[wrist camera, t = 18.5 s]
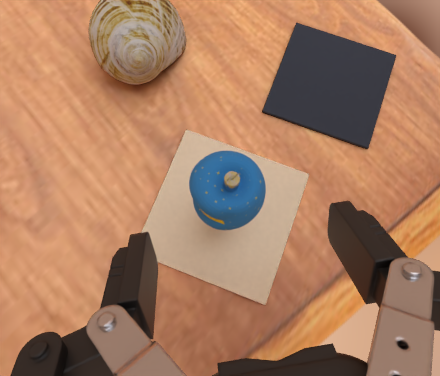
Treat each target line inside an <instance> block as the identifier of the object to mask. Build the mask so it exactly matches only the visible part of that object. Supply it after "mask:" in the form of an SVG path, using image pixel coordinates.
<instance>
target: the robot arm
mask: <svg viewBox="0 0 440 376" xmlns="http://www.w3.org/2000/svg"><path fill="white" fill-rule="evenodd" d="M328 238H329V241H330V243H331V245H332V247H333V249H334V250H335V252H336V254H337V256H338V257H339V259H340V261H341V262H342V264H343V266H344V267H345V269H346V271H347V273H348V274H349V276H350V278H351V279H352V281H353V283H354V285H355V286H356V288H357V290H358V291H359V293H360V295H361V296H362V298H363V300H364V302H365V303H366V304H370V303H377V304H378V306H379V312H378V317H377V321H376V325H375V330H374V335H373V339H372V343H371V348H370V352H369V357H368V361H367V363H366V362H364V361H363V360H360V359H358V358H356V357H353V356H350V355H346V354H341V353H336V351H335V348H334V346H333V344H327V345H321V346H315V347H309V348H304V349H302V350H300V351H298V352H296V353H294V354H292V355H289V356H287V357H285V358H283V359H281V360H278V361H270V360H259V359H248V358H245V359H239V360H233V361H227V362H221V363H218V373H216V374H214V375H212V376H431V369H432V355H433V340H434V330H439V331H440V272H438V271H432V270H431V269H430V268H429V267H428V266H427V265H426V264H424V263H423V262H421V261H419V260H416V259H413V258H408V257H407V256H406V255H405V253H404V252H403V251H402V250H401V249H400V247H399V246H398V245H397V244H396V243H395V241H394V240H393V239H392V238H391V237H390V235H389V234H388V233H386V231H385V230H384V228H383V227H381V225H380V224H379V222H378V221H377V220H376V219H375V218H374V217H373V216H372V215H370V214H368V213H367V212H365V211H363V210H361V211H357V210H356V208H355V207H354V206H353V204H352V203H351V202H350V201H343V202H337V203H332V204H331V205H330V209H329V220H328ZM108 276H109V277H108V279H107V283H106V287H105V291H104V295H103V299H102V304H101V307H100V309H99V310H98V311H97V312H95V313H94V314H93V315H92V317H91V318H90V319H89V321H88V323H87V325H86V326H85V327H83V328H81V329H79V330H77V331H75V332H73V333H71V334H68V335H66V336H64V337H62V338H61V337H60V335H58V334H57V333H55V332H45V333H42V334H40V335H37V336H36V337H34V338H33V339H31V340H30V341H29V342H27V344H26V345H25V346H24V347H23V348H22V349H21V351H20V353H19V355H18V357H17V360H16V362H15V365H14V368H13V370H12V373H11V376H186V374H185V373H184V372H183V371H182V370H181V369H180V368H179V366H178V365H177V364H176V363H175V362H174V361H173V359H172V358H171V357H170V356H169V355H168V354H167V353H166V351H165V350H164V349H163V348H162V347H161V346H160V345H159V344H158V343H157V342H156V341H154V342H152V341H151V340H150V339H153V333H154V319H155V305H156V292H157V278H158V262H157V257H156V254H155V251H154V247H153V244H152V241H151V238H150V234H149V232H143V233H137V234H131V235H130V238H129V243H128V247H124V248H119V250H118V251H117V252H116V254H115V255H114V257H113V258H112V263H111V267H110V271H109V275H108Z"/></svg>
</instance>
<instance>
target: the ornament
mask: <svg viewBox="0 0 440 376" xmlns="http://www.w3.org/2000/svg"><path fill="white" fill-rule="evenodd" d="M189 189H190V193H191V196H192V198H193V204H194V208H195V211H196V213H197V215H198V216H199V217H200V219H201V220H202V221H203V222H204V223H206V224H207V225H209V226H210V227H212V228H215V229H217V230H233V229H237V228H240V227H242V226H244V225H246V224H247V223H249V222H250V221H251V220H253V219H254V218H255V217H256V216H257V214H258V213H259V211H260V210H261V208H262V206H263V203H264V200H265V194H266V185H265V180H264V176H263V174H262V172H261V170H260V168H259V167H258V165H257V164H256V163H255V162H254V161H253V160H252V159H251V158H249V157H248V156H246V155H244V154H242V153H239V152H235V151H218V152H214V153H211V154H209V155H208V156H206V157H204V158H203V159H202V160H200V161H199V162H198V163H197V164H196V165H195V167H194V168H193V170H192V172H191V175H190V180H189Z"/></svg>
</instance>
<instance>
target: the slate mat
mask: <svg viewBox="0 0 440 376" xmlns="http://www.w3.org/2000/svg"><path fill="white" fill-rule="evenodd" d="M395 58H396V55H394V54H391V53H388V52H385V51H382V50H379V49H376V48H373V47H370V46H366V45H363V44H360V43H357V42H354V41H351V40H348V39H345V38H342V37H339V36H336V35H333V34H330V33H327V32H324V31H321V30H317V29H314V28H311V27H308V26H305V25H302V24H299V23H296V25H295V28H294V31H293V33H292V36H291V38H290V41H289V44H288V46H287V49H286V51H285V54H284V57H283V59H282V62H281V64H280V67H279V69H278V72H277V75H276V77H275V80H274V82H273V85H272V88H271V90H270V93H269V95H268V98H267V101H266V103H265V106H264V108H263V111H262V112H263V113H266V114H269V115H271V116H274V117H277V118H280V119H283V120H286V121H289V122H291V123H294V124H297V125H300V126H303V127H306V128H308V129H311V130H314V131H317V132H320V133H323V134H325V135H328V136H331V137H334V138H337V139H340V140H342V141H345V142H348V143H351V144H354V145H357V146H359V147H362V148H365V149H368V148H369V144H370V141H371V138H372V134H373V131H374V128H375V124H376V121H377V118H378V114H379V111H380V108H381V104H382V101H383V98H384V94H385V91H386V88H387V84H388V81H389V78H390V74H391V71H392V68H393V65H394V61H395Z"/></svg>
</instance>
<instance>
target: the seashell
mask: <svg viewBox="0 0 440 376" xmlns="http://www.w3.org/2000/svg"><path fill="white" fill-rule="evenodd" d="M89 40H90V44H91V47H92V50H93V53H94V55H95V58H96V60H97V62H98V63H99V65H100V67H101V68H102V69H103V70H105V71H106V72H107V73H108V74H109V75H110V76H112V77H113V78H115V79H117V80H119V81H121V82H125V83H128V84H143V83H147V82H149V81H151V80H153V79H154V78H155V77H156V76H158V75H159V74H160V72H161V71H162V70H165V69H166V68H167V67H168V66H169V65H171V64H172V63H173V62H174V61H175V60H176V59H177V58H178V57H179V56H180V55H181V54H182V53H183V51H184V49H185V45H186V35H185V31H184V26H183V23H182V20H181V18H180V16H179V14H178V12H177V10H176V8H175V7H174V6H173V5H172V3H171V2H170V1H169V0H100V2H99V3H98V4H97V6H96V7H95V9H94V11H93V13H92V16H91V19H90V23H89Z"/></svg>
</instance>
